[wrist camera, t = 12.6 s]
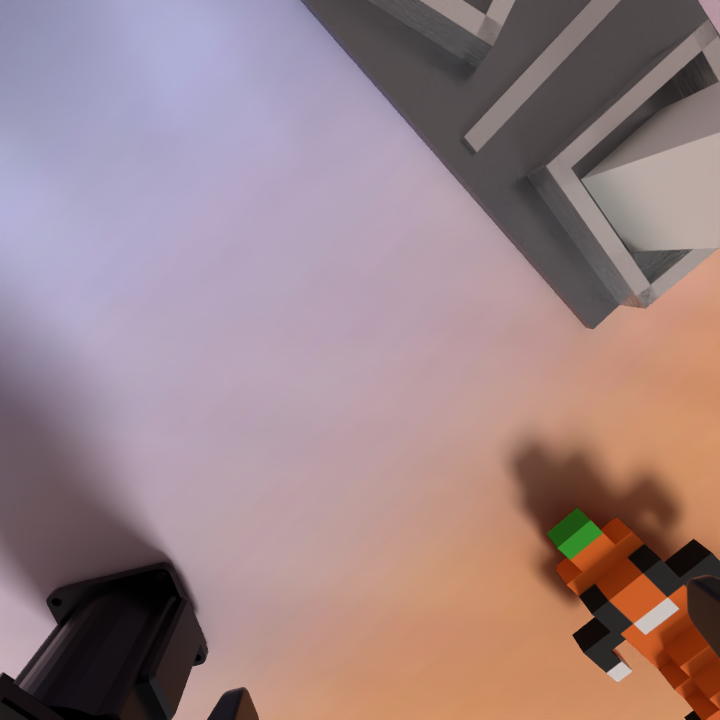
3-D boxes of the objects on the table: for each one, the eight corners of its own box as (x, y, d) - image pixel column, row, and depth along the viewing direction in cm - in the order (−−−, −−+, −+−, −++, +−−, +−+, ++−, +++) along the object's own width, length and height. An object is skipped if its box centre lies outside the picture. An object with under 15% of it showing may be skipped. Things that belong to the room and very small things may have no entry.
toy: (732, 809, 19) (540, 647, 16) (639, 681, 25) (486, 544, 22) (876, 711, 18) (702, 519, 15) (744, 602, 24) (599, 447, 21)
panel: (269, -37, 15) (265, -53, 14) (484, -308, 13) (494, -344, 13) (586, 327, 19) (597, 330, 18) (777, 150, 17) (797, 145, 17)
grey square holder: (611, 303, 19) (645, 308, 17) (521, 177, 17) (546, 166, 15) (744, 192, 18) (796, 183, 16) (662, 49, 16) (708, 18, 14)
